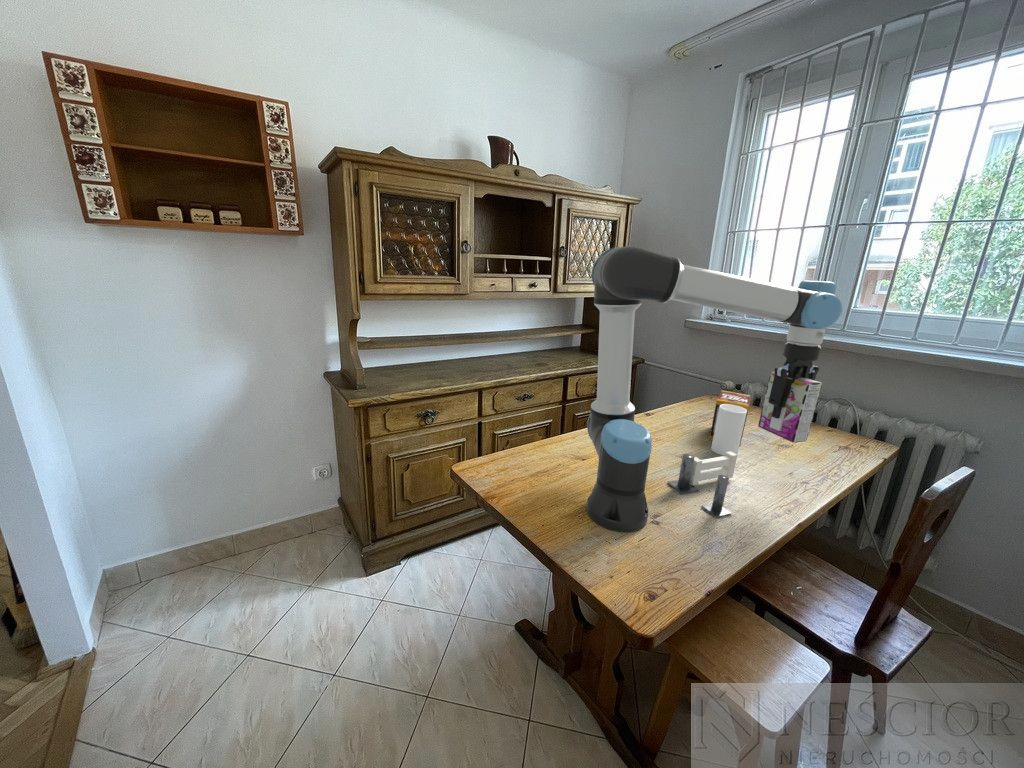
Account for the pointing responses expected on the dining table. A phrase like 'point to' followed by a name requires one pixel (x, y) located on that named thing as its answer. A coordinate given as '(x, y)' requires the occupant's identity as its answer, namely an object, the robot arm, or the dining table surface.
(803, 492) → the dining table surface
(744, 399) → the supplement box
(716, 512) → the post
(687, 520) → the dining table surface
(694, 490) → the post
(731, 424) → the cup
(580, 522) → the dining table surface
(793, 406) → the candy bar box
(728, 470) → the gate
